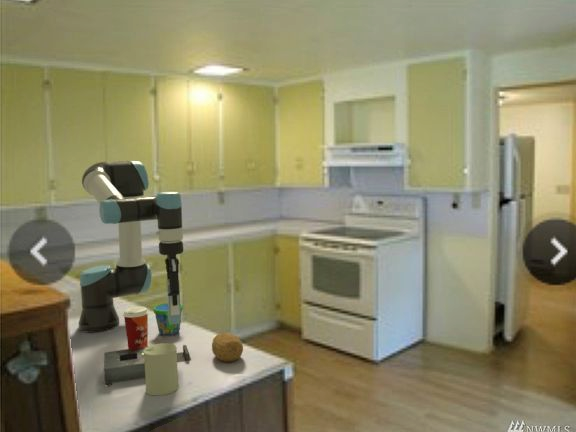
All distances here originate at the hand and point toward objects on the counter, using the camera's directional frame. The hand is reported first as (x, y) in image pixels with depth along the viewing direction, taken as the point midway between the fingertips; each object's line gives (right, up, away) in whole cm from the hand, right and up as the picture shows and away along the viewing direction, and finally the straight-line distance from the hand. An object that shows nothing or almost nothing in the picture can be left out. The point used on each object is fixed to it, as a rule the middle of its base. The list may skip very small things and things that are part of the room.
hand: (174, 312), depth 164 cm
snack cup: (-8, -13, +27) cm, 31 cm away
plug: (0, -3, 0) cm, 3 cm away
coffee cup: (-14, -15, +8) cm, 22 cm away
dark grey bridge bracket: (+1, -15, +1) cm, 16 cm away
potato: (+17, -15, 0) cm, 23 cm away
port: (-12, -17, -8) cm, 22 cm away
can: (+1, -18, -19) cm, 26 cm away
